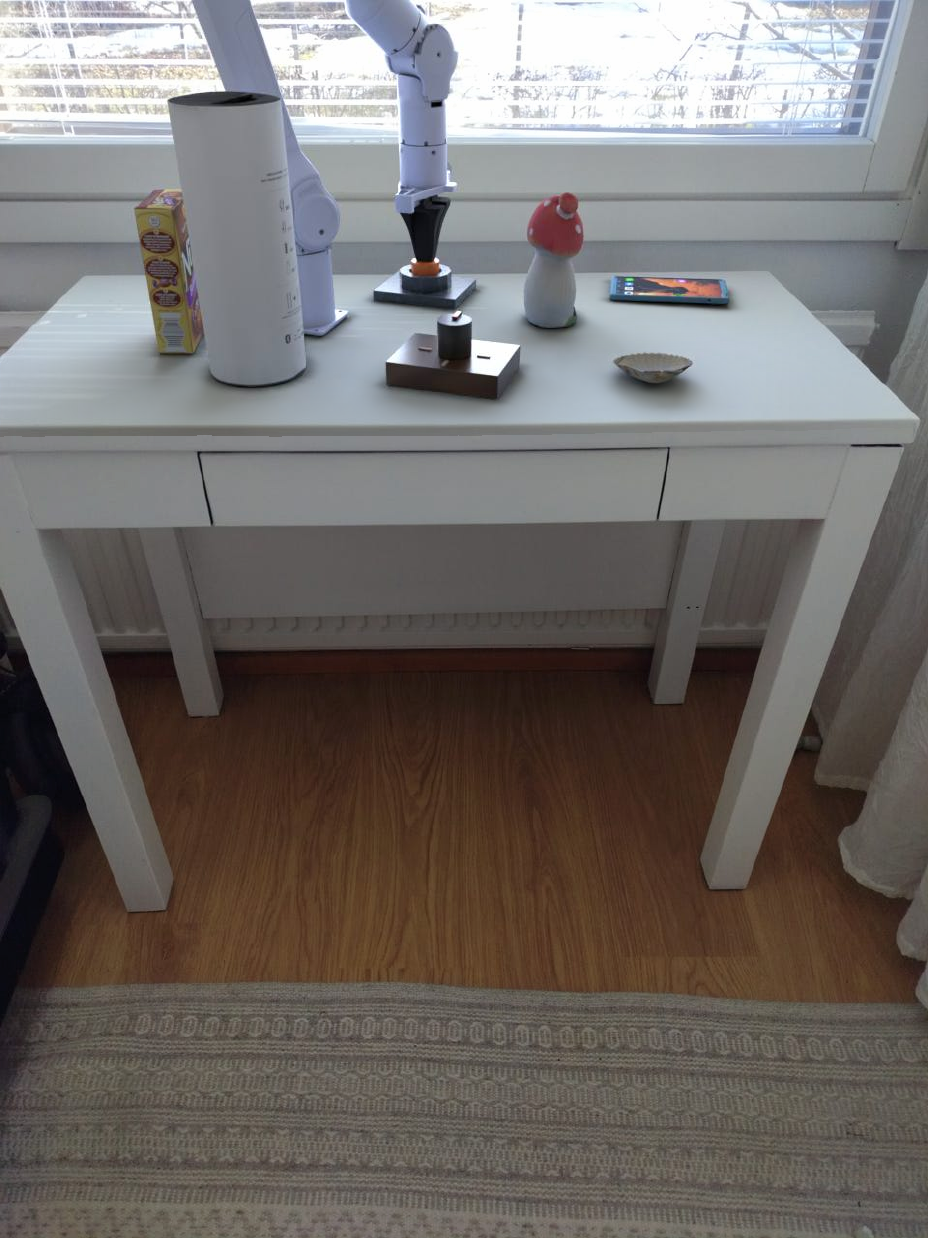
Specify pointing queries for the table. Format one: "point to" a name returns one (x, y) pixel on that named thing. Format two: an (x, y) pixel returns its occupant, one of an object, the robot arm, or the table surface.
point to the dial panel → (453, 367)
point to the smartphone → (669, 290)
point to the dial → (454, 336)
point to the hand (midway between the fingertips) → (425, 260)
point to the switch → (425, 267)
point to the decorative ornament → (553, 262)
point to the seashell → (653, 366)
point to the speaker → (241, 233)
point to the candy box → (169, 271)
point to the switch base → (425, 288)
